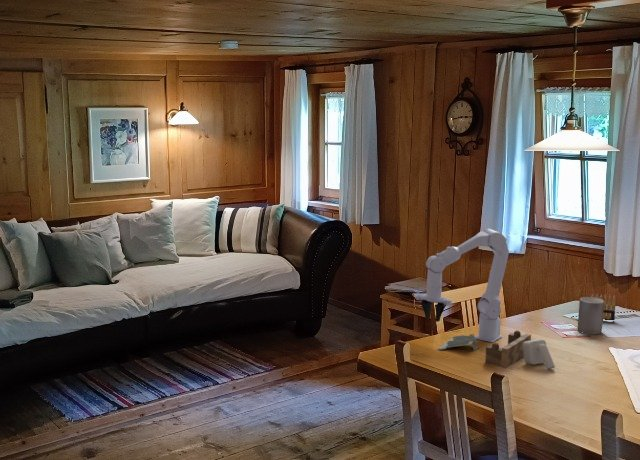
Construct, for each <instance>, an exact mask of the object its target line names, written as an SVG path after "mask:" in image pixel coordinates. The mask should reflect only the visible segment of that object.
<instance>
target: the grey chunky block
mask: <svg viewBox="0 0 640 460" xmlns="http://www.w3.org/2000/svg"><path fill="white" fill-rule="evenodd" d="M523 352H524V357H523V361H524V363H525V364H526V365H532V366H533V365H539V364H544V366H545V368H546V370H551V369H554V368H556V365H555V363H554V361H553V358H552V355H551V353H550V351H549V348H548V346H547V342H546V340H543V339H533V340H532V339H531V341H525V342H524V343H523Z"/></svg>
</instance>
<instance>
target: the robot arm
mask: <svg viewBox="0 0 640 460" xmlns="http://www.w3.org/2000/svg"><path fill="white" fill-rule="evenodd" d="M477 247H489V248H490V250H491V251H492V253H493V259H492V263H491V267H490V271H489V276H488V279H487V280H488V281H487V283H486V284H487V285H486V289H485V292H484V293H482V295H481V298H480V300H479V301H478V303H477V310H478V311H479V312H480V313H479V316H478V317H479V318H478V319H479V321H478V335H476V336H475V337H478V338H477V339H476V340H481V341H486V342H489V343H495V342H496V341H497V340H500V339H501V338H502V337H503V335H501V319H500V315H501V313H502V310H501V309H502V307H501V298H500V292H501V289H502V284H503V279H504V275H505V272H506V267H507V262H508V258H509V254H510V251H509V246H508V243H507V238H506V236H505V235H504V234H503V233H502V232H499V231H496V230H494V229H492V228H485V229H484V230H481V231H479V232H478V233H477V234H476V235H474V236H473V237H470V238H469V239H467V240H466V241H464V242H463V243H460V244H459V245H457V246H453V245H452V246H447V247H446V249H445V250H442V251H441V252H437V253H436V255H431V256H429V257H428V258H427V259H426V262H425V266H426V268H427V278H426V294H421V293H418V294H416V296H415V299H416V300H418V301H421V302H420V306H421V307H422V310H423V312H424V316H425V320H429V319H431V308H432V303H436V304H435V305H434V309H435V322H438V323H439V322H440V321H441V317H442V314H443V312H444V309H445V308H446V307H447V306H448V307H449V306H451V305H452V300H451V299H448V298H445V297H442V289H443V288H442V285H443V284H442V283H443V271H445V268H446V267H448V266H450V265H451V264H453V263H455V262H457V261H458V260H460V258H461V257H462V255H463V254H465V253H468V252H469V251H472V250H473V249H475V248H477Z"/></svg>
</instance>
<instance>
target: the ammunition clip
mask: <svg viewBox="0 0 640 460" xmlns="http://www.w3.org/2000/svg"><path fill="white" fill-rule="evenodd" d="M590 297H595V298H600V299H602V300H604V307H603V319H605V320H615V319H616V318H615V317H616V316H615V315H616V295H615V294H614V295H613V297H611V294H609V295H608V298H607V294H604V296H603V294H602V293H601V294H600V296H599V294H598V293H596V295H594V293H592V294H591V296H590Z"/></svg>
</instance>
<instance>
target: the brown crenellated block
mask: <svg viewBox="0 0 640 460" xmlns="http://www.w3.org/2000/svg"><path fill="white" fill-rule="evenodd" d="M507 336H508V337H507V345H505V346H503V347H502V348H501V347H500V344H499V343H497V342H493V343H492V345H488V346H486V347H485V361H484V363H485V364H486V365H487V364H488V365H491V366H495V367H500V368H505V369H507V368H509V367H510V366H512V365H513V364H514V363H516V362H518V361H519V360H520V359H522V358H524V352H523V343H524V342H525V341H531V340H532V334H529V333H525V334H523V335H522V333H521V331H520V330H517V329H516V330H515V331H514V332H513V333H509V334H508V335H507Z"/></svg>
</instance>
